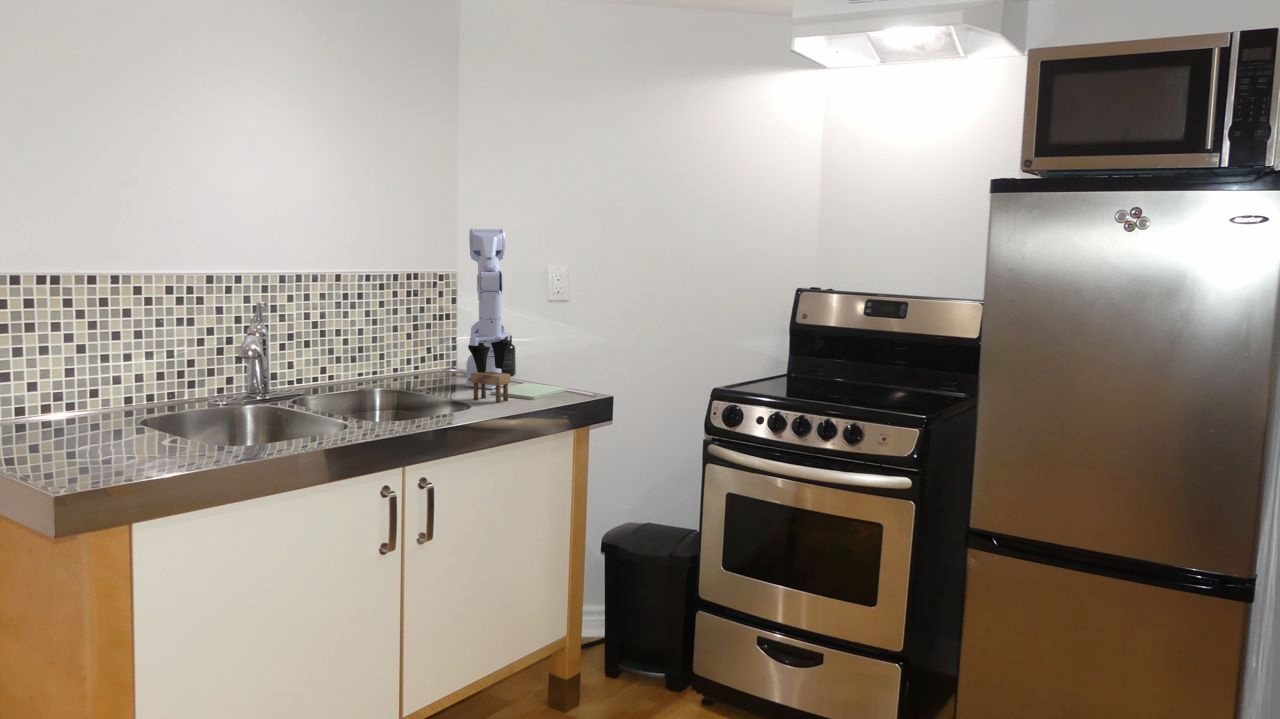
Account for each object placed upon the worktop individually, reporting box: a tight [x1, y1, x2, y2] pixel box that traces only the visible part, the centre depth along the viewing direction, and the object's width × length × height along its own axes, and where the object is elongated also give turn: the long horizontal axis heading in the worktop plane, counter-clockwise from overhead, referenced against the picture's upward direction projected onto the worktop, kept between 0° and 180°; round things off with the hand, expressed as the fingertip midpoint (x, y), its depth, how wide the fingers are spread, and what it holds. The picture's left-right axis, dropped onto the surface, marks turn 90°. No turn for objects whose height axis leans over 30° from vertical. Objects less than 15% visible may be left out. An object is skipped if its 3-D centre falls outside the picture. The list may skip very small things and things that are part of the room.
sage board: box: [490, 382, 568, 401], centre depth 264 cm, size 14×16×1 cm
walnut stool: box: [471, 371, 511, 404], centre depth 251 cm, size 9×5×7 cm, turn 61°
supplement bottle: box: [501, 334, 517, 377], centre depth 291 cm, size 7×7×12 cm
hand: (490, 370), depth 251 cm, fingers open, 7 cm apart
